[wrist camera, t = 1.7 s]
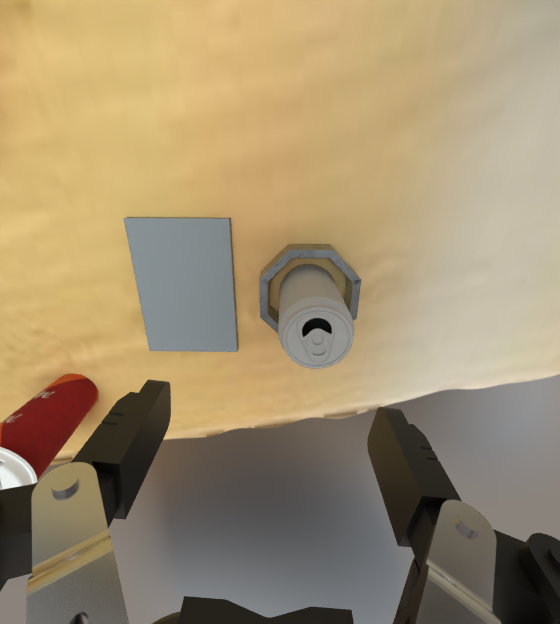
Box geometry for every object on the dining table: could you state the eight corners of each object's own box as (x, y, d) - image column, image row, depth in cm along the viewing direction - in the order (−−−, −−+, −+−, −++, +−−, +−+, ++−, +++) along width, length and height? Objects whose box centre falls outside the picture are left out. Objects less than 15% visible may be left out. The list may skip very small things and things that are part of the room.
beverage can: (332, 259, 33) (356, 297, 22) (336, 311, 36) (359, 369, 25) (276, 266, 34) (272, 307, 23) (283, 317, 36) (283, 377, 25)
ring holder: (357, 244, 33) (364, 250, 30) (348, 330, 37) (353, 343, 34) (260, 243, 33) (258, 249, 30) (262, 330, 37) (260, 341, 34)
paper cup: (53, 358, 39) (-59, 444, 26) (112, 380, 40) (31, 472, 28) (44, 401, 42) (-61, 497, 29) (99, 419, 43) (21, 520, 30)
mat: (230, 218, 32) (229, 218, 31) (238, 348, 38) (237, 351, 37) (127, 217, 32) (123, 218, 31) (152, 347, 38) (149, 350, 37)
